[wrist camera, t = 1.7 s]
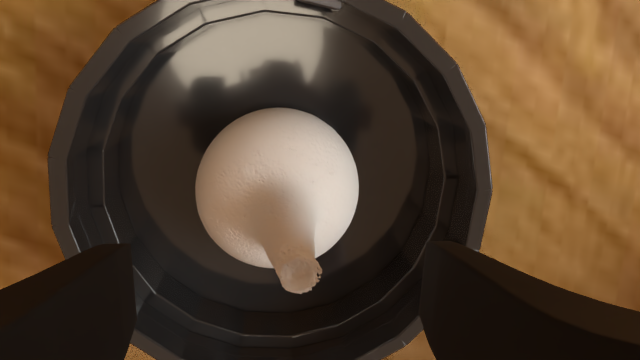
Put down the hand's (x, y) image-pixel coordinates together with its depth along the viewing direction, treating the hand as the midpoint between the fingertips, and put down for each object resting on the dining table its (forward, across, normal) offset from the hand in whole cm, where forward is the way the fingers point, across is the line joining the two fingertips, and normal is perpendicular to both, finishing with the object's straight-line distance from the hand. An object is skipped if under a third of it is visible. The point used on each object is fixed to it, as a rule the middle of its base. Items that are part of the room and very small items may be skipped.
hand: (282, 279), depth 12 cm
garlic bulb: (+9, 0, 0) cm, 9 cm away
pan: (+9, 0, 0) cm, 9 cm away
